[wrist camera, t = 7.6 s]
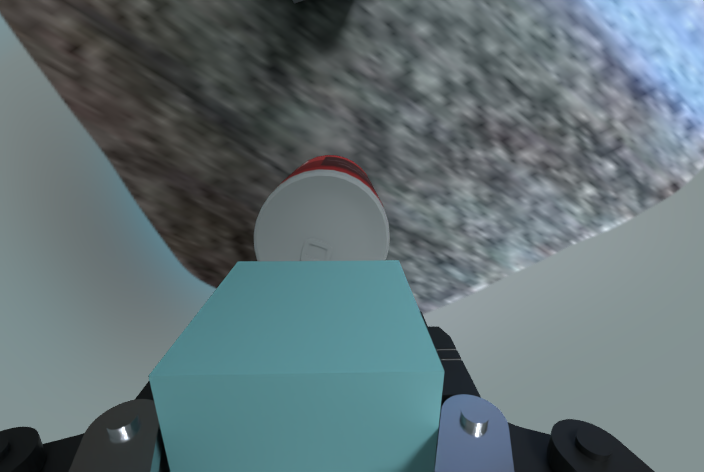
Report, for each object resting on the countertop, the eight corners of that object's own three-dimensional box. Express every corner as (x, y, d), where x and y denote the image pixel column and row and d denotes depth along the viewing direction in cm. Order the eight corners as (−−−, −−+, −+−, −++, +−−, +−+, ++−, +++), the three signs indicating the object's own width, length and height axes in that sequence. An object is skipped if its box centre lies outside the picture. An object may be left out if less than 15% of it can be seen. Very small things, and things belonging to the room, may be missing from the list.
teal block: (238, 261, 10) (148, 376, 6) (398, 260, 10) (444, 370, 6) (252, 391, 12) (192, 567, 7) (392, 389, 12) (424, 561, 7)
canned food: (284, 241, 30) (253, 303, 20) (285, 150, 28) (250, 164, 17) (369, 247, 30) (383, 310, 20) (378, 157, 28) (399, 176, 17)
